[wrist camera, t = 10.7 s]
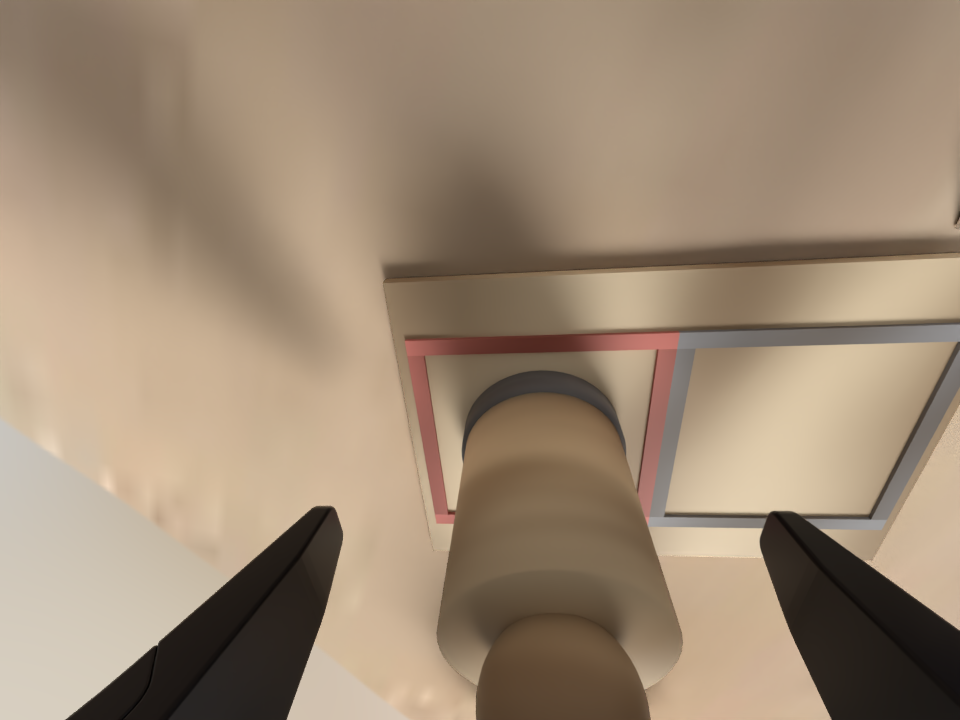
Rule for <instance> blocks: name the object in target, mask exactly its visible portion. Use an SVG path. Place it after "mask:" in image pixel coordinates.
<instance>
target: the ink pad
mask: <svg viewBox="0 0 960 720" xmlns="http://www.w3.org/2000/svg"><path fill="white" fill-rule="evenodd" d="M955 228H956V229H960V218H959V220H958V222H957V224H956V227H955Z"/></svg>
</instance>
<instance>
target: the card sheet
mask: <svg viewBox="0 0 960 720" xmlns="http://www.w3.org/2000/svg"><path fill="white" fill-rule="evenodd" d="M383 287H384V292H385V298H386V303H387V308H388V314H389V319H390V324H391V330H392V335H393V340H394V346H395V351H396V356H397V362H398V367H399V372H400V378H401V383H402V388H403V394H404V399H405V404H406V410H407V415H408V420H409V426H410V431H411V436H412V442H413V447H414V452H415V458H416V463H417V468H418V474H419V479H420V484H421V489H422V495H423V500H424V505H425V511H426V516H427V521H428V527H429V532H430V537H431V543H432V548H433V551H449V550H450V544H451V538H452V531H453V525H454V519H455V512H456V506H457V500H458V493H459V487H460V481H461V474H462V468H463V460H462V442H463V436H464V430H465V424H466V420H467V416H468V413H469V411H470V409H471V407H472V405H473V404H474V402H475V401H476V400H477V398H478V397H479V396H480V395H481V394H482V393H483V392H484V391H485V390H486V389H488V388H489V387H490V386H492V385H493V384H495V383H496V382H498V381H500V380H502V379H504V378H506V377H509V376H512V375H515V374H518V373H523V372H528V371H538V370H547V371H557V372H563V373H567V374H571V375H574V376H576V377H579V378H581V379H584V380H585V381H587V382H589V383H591V384H592V385H594V386H595V387H596V388H598V389H599V390H600V391H601V392H602V393H603V394H604V395H605V396H606V397H607V398H608V400H609V401H610V402H611V404H612V405H613V407H614V409H615V411H616V414H617V417H618V420H619V423H620V426H621V429H622V432H623V435H624V438H625V442H626V459H627V462H628V465H629V468H630V471H631V474H632V478H633V481H634V484H635V487H636V490H637V493H638V496H639V500H640V503H641V506H642V509H643V512H644V515H645V519H646V522H647V525H648V528H649V531H650V534H651V537H652V541H653V544H654V547H655V550H656V553H657V556H690V557H738V558H763V555H762V552H761V549H760V543H759V541H760V536H761V533H762V530H763V527H764V524H765V521H766V519H767V516H768V514H769V513H770V512H771V511H793V512H795V513H797V514H799V515H800V516H802V517H803V518H804V519H806V520H807V521H809V522H810V523H811V524H813V525H814V526H816V527H817V528H818V529H820V530H821V531H822V532H824V533H825V534H827V535H828V536H829V537H831V538H832V539H834V540H835V541H836V542H838V543H839V544H840V545H842V546H843V547H845V548H846V549H847V550H849V551H850V552H852V553H853V554H854V555H856V556H857V557H858V558H860V559H861V560H873V558H874V557H875V555H876V553H877V551H878V549H879V548H880V546H881V544H882V542H883V540H884V539H885V537H886V535H887V533H888V531H889V530H890V528H891V526H892V524H893V523H894V521H895V519H896V517H897V515H898V514H899V512H900V510H901V508H902V506H903V505H904V503H905V501H906V499H907V497H908V496H909V494H910V492H911V490H912V489H913V487H914V485H915V483H916V481H917V480H918V478H919V476H920V474H921V472H922V471H923V469H924V467H925V465H926V463H927V462H928V460H929V458H930V456H931V455H932V453H933V451H934V449H935V447H936V446H937V444H938V442H939V440H940V438H941V437H942V435H943V433H944V431H945V429H946V428H947V426H948V424H949V422H950V420H951V419H952V417H953V415H954V413H955V412H956V410H957V408H958V406H959V404H960V253H944V254H922V255H900V256H878V257H856V258H834V259H811V260H789V261H767V262H745V263H723V264H701V265H679V266H657V267H635V268H613V269H591V270H569V271H547V272H525V273H503V274H481V275H459V276H437V277H415V278H392V279H386V280H385V281H384V282H383Z"/></svg>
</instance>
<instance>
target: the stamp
mask: <svg viewBox="0 0 960 720" xmlns="http://www.w3.org/2000/svg"><path fill="white" fill-rule="evenodd" d="M462 460H463V468H462V474H461V481H460V487H459V493H458V500H457V506H456V512H455V519H454V525H453V531H452V538H451V544H450V550H449V557H448V563H447V569H446V576H445V582H444V588H443V595H442V601H441V607H440V614H439V620H438V627H437V642H438V645H439V648H440V651H441V653H442V654H443V656H444V658H445V659H446V661H447V662H448V663H449V664H450V666H451V667H452V668H453V669H454V670H455V671H456V672H458V673H459V674H460V675H461V676H463V677H464V678H465V679H467V680H468V681H470V682H472V683H473V684H475V685H477V694H476V720H651V719H650V713H649V706H648V701H647V697H646V694H645V689H647V688H649V687H651V686H652V685H654V684H656V683H657V682H658V681H660V680H661V679H662V678H664V677H665V676H666V675H667V674H668V673H669V672H670V671H671V670H672V669H673V667H674V666H675V664H676V663H677V661H678V659H679V657H680V654H681V652H682V645H683V639H682V632H681V629H680V626H679V622H678V619H677V616H676V613H675V610H674V607H673V604H672V600H671V597H670V594H669V591H668V588H667V585H666V582H665V578H664V575H663V572H662V569H661V566H660V563H659V559H658V556H657V553H656V550H655V547H654V544H653V541H652V537H651V534H650V531H649V528H648V525H647V522H646V519H645V515H644V512H643V509H642V506H641V503H640V500H639V496H638V493H637V490H636V487H635V484H634V481H633V478H632V474H631V471H630V468H629V465H628V462H627V459H626V442H625V438H624V435H623V432H622V429H621V426H620V423H619V420H618V417H617V414H616V411H615V409H614V407H613V405H612V404H611V402H610V401H609V400H608V398H607V397H606V396H605V395H604V394H603V393H602V392H601V391H600V390H599V389H598V388H596V387H595V386H594V385H592V384H591V383H589V382H587V381H585V380H584V379H581V378H579V377H576V376H574V375H571V374H567V373H563V372H557V371H547V370H538V371H528V372H523V373H518V374H515V375H512V376H509V377H506V378H504V379H502V380H500V381H498V382H496V383H495V384H493V385H492V386H490V387H489V388H488V389H486V390H485V391H484V392H483V393H482V394H481V395H480V396H479V397H478V398H477V400H476V401H475V402H474V404H473V405H472V407H471V409H470V411H469V413H468V416H467V420H466V424H465V430H464V436H463V442H462Z"/></svg>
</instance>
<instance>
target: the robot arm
mask: <svg viewBox="0 0 960 720" xmlns="http://www.w3.org/2000/svg"><path fill="white" fill-rule="evenodd" d="M342 541H343V531H342V528H341V524H340V521H339V518H338V515H337V512H336V510H335V508H334V507H332V506H316V507H314V508H312V509H311V510H310V511H308V512H307V513H306V514H305V515H304V516H303V517H302V518H300V519H299V520H298V521H297V522H296V523H295V524H294V525H292V526H291V527H290V528H289V529H288V530H287V531H286V532H284V533H283V534H282V535H281V536H280V537H279V538H278V539H276V540H275V541H274V542H273V543H272V544H271V545H269V546H268V547H267V548H266V549H265V550H264V551H263V552H261V553H260V554H259V555H258V556H257V557H256V558H255V559H253V560H252V561H251V562H250V563H249V564H248V565H247V566H245V567H244V568H243V569H242V570H241V571H240V572H239V573H237V574H236V575H235V576H234V577H233V578H232V579H230V580H229V581H228V582H227V583H226V584H225V585H224V586H223V587H221V588H220V589H219V590H218V591H217V592H216V593H215V594H214V595H212V596H211V597H210V598H209V599H208V600H207V601H205V602H204V603H203V604H202V605H201V606H200V607H198V608H197V609H196V610H195V611H194V612H193V613H192V614H190V615H189V616H188V617H187V618H186V619H185V620H183V621H182V622H181V623H180V624H179V625H178V626H177V627H176V628H174V629H173V630H172V631H171V632H170V633H169V634H167V635H166V636H165V637H164V638H163V639H162V640H160V641H159V643H158V646H157V645H156V646H154V647H152V648H151V649H150V650H149V651H148V652H147V653H145V654H144V655H143V656H142V657H141V658H140V659H138V660H137V661H136V662H135V663H134V664H133V665H132V666H130V667H129V668H128V669H127V670H126V671H124V672H123V673H122V674H121V675H120V676H119V677H117V678H116V679H115V680H114V681H113V682H111V683H110V684H109V685H108V686H107V687H106V688H104V689H103V690H102V691H101V692H100V693H98V694H97V695H96V696H95V697H93V698H92V699H91V700H90V701H88V702H87V703H86V704H84V705H83V706H82V707H81V708H80V709H78V710H77V711H76V712H74V713H73V714H72V715H71V716H70V717H68V718H67V719H66V720H287V717H288V714H289V711H290V708H291V706H292V703H293V700H294V697H295V694H296V692H297V689H298V686H299V683H300V680H301V678H302V675H303V672H304V669H305V667H306V664H307V661H308V658H309V655H310V653H311V650H312V647H313V644H314V642H315V639H316V636H317V633H318V630H319V628H320V625H321V622H322V619H323V616H324V613H325V609H326V606H327V602H328V598H329V594H330V590H331V586H332V582H333V578H334V574H335V570H336V566H337V562H338V558H339V554H340V550H341V546H342ZM759 543H760V549H761V552H762V555H763V558H764V561H765V564H766V566H767V569H768V572H769V575H770V578H771V580H772V583H773V586H774V589H775V592H776V594H777V597H778V600H779V603H780V606H781V608H782V611H783V614H784V617H785V619H786V622H787V625H788V627H789V630H790V632H791V634H792V636H793V639H794V641H795V643H796V645H797V647H798V649H799V652H800V654H801V656H802V658H803V660H804V662H805V664H806V666H807V668H808V671H809V673H810V675H811V677H812V679H813V681H814V683H815V685H816V687H817V690H818V692H819V694H820V696H821V698H822V700H823V702H824V704H825V707H826V709H827V711H828V713H829V715H830V717H831V719H832V720H960V630H958V629H957V628H955V627H954V626H953V625H951V624H950V623H949V622H947V621H946V620H944V619H943V618H942V617H940V616H939V615H937V614H936V613H935V612H933V611H932V610H931V609H929V608H928V607H926V606H925V605H924V604H922V603H921V602H919V601H918V600H917V599H915V598H914V597H913V596H911V595H910V594H908V593H907V592H906V591H904V590H903V589H901V588H900V587H899V586H897V585H896V584H895V583H893V582H892V581H890V580H889V579H888V578H886V577H885V576H883V575H882V574H881V573H879V572H878V571H877V570H875V569H874V568H872V567H871V566H870V565H868V564H867V563H865V562H864V561H863V560H861V559H860V558H858V557H857V556H856V555H854V554H853V553H852V552H850V551H849V550H847V549H846V548H845V547H843V546H842V545H840V544H839V543H838V542H836V541H835V540H834V539H832V538H831V537H829V536H828V535H827V534H825V533H824V532H822V531H821V530H820V529H818V528H817V527H816V526H814V525H813V524H811V523H810V522H809V521H807V520H806V519H804V518H803V517H802V516H800V515H799V514H797V513H795V512H793V511H771V512H770V513H769V514H768V516H767V519H766V521H765V524H764V527H763V530H762V533H761V536H760V541H759Z"/></svg>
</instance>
